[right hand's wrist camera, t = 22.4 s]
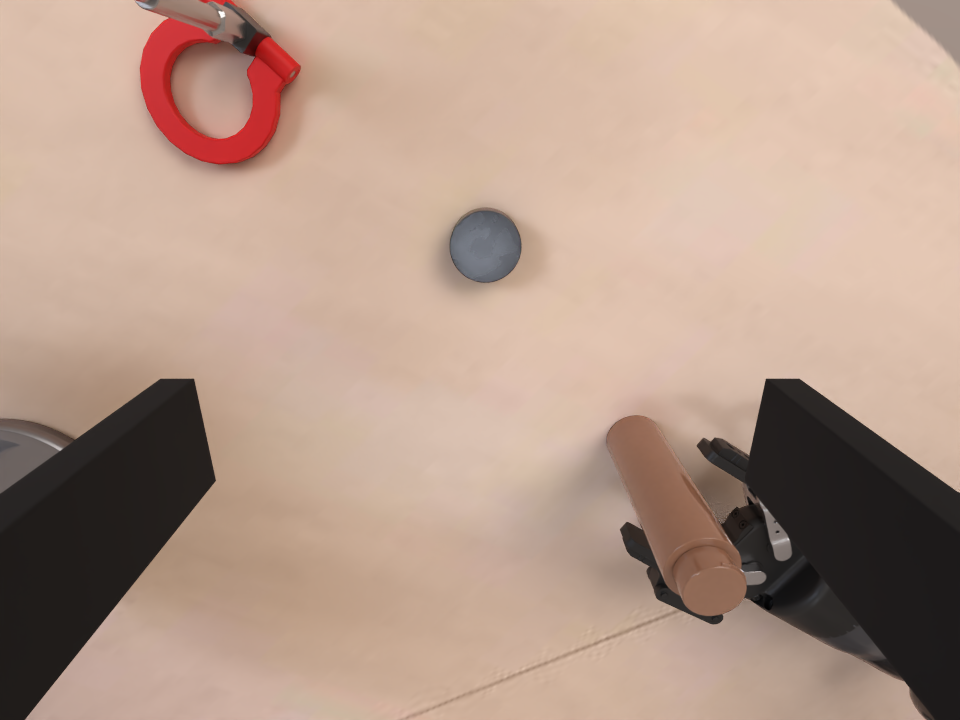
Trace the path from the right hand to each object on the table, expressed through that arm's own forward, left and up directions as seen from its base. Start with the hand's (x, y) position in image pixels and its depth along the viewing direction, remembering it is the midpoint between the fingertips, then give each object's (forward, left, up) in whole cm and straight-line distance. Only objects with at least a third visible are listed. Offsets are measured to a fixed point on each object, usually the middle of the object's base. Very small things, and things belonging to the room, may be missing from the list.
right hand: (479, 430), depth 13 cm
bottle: (+20, 0, -27) cm, 33 cm away
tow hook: (-18, -7, -27) cm, 33 cm away
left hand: (+21, 0, -20) cm, 29 cm away
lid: (0, 0, -25) cm, 25 cm away
